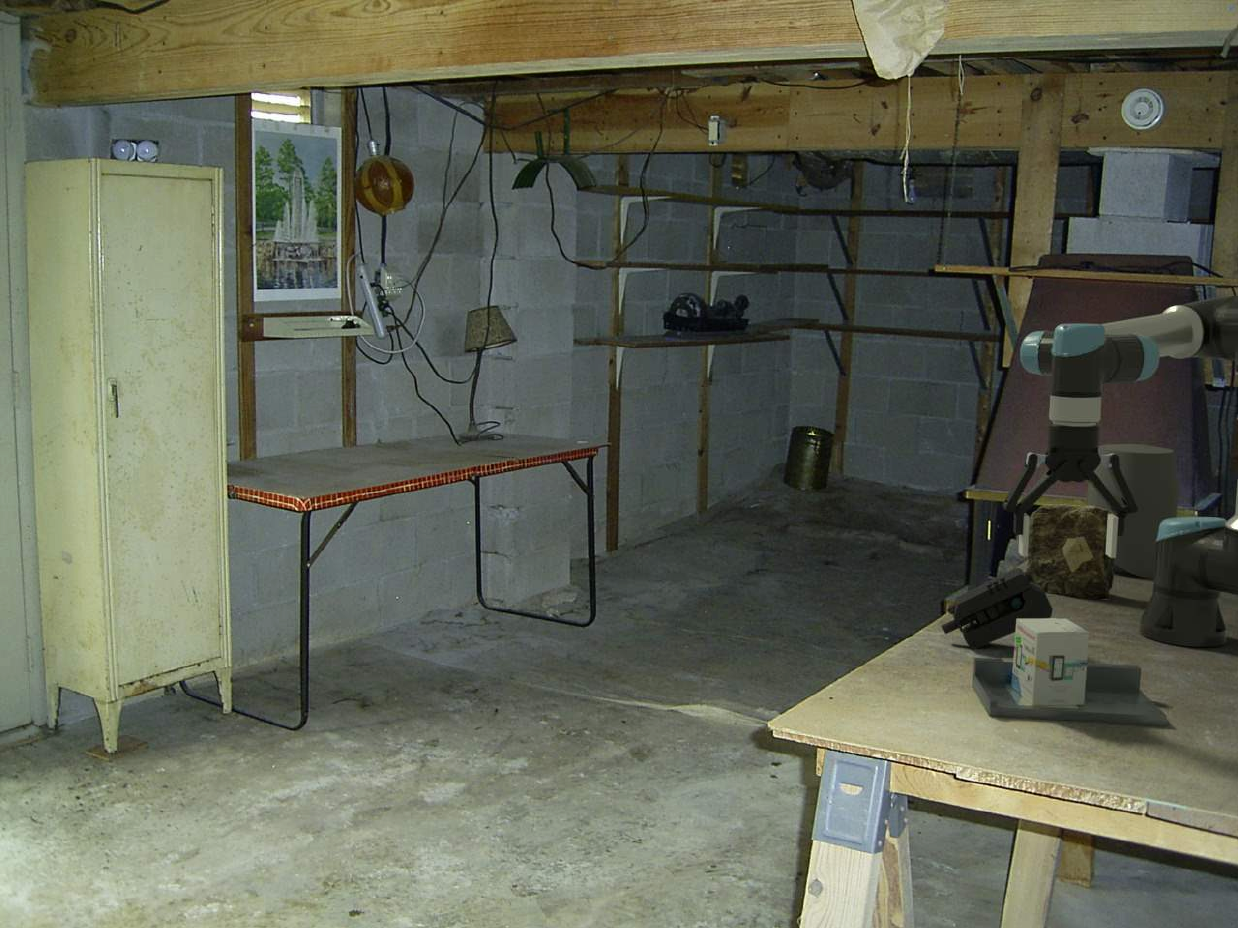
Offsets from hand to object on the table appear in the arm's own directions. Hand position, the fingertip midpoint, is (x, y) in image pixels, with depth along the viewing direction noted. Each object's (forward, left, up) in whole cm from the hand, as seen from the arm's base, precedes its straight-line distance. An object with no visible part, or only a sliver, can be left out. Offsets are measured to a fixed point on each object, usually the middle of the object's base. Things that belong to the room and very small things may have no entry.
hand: (1066, 555), depth 193 cm
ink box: (+3, +6, -22) cm, 23 cm away
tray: (0, +6, -23) cm, 24 cm away
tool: (+4, -26, -23) cm, 35 cm away
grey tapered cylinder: (-41, -99, -23) cm, 110 cm away
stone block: (-20, -71, -23) cm, 78 cm away
